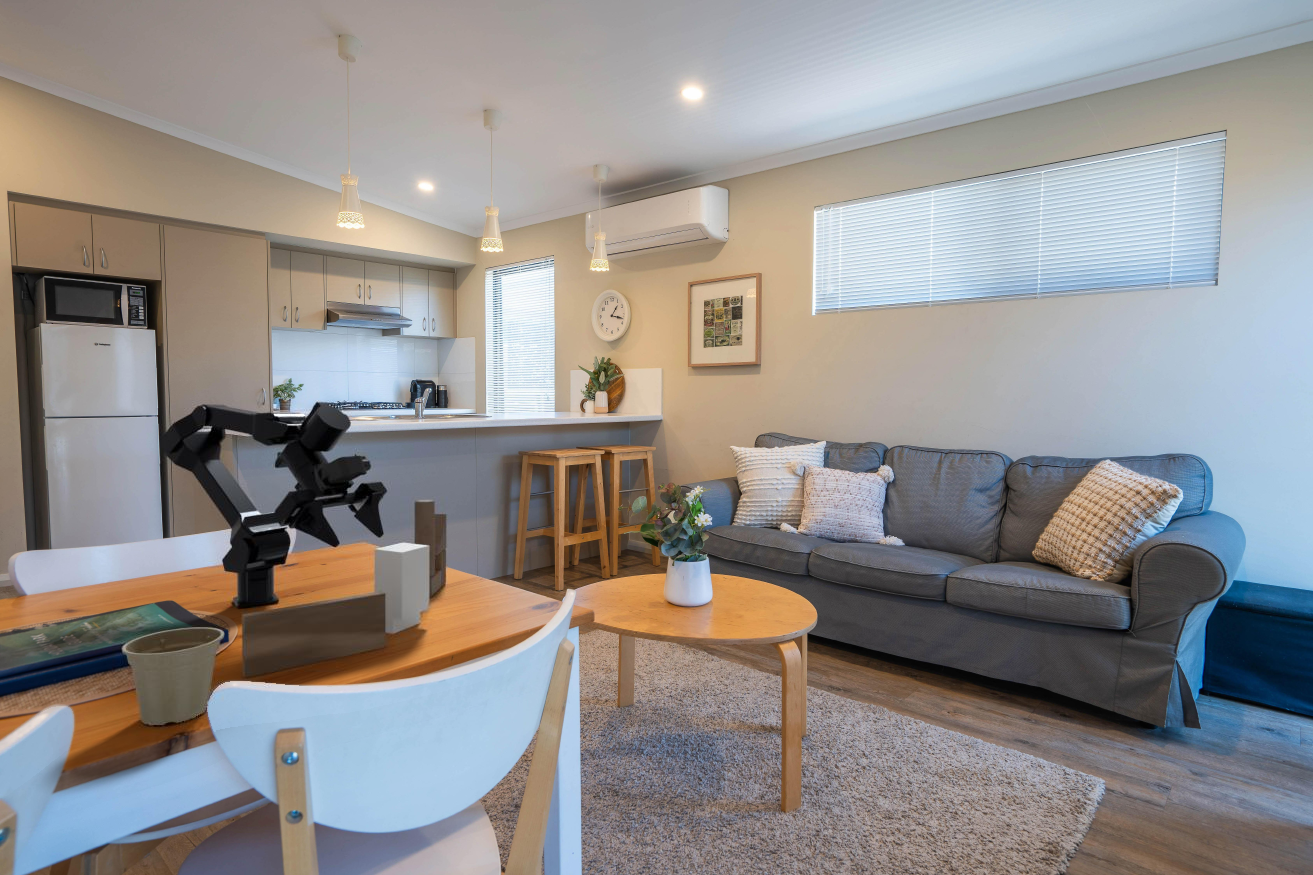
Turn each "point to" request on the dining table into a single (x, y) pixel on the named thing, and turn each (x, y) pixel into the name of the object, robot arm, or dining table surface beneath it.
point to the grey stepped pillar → (432, 541)
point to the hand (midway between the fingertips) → (360, 540)
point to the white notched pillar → (403, 583)
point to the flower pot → (173, 672)
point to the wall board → (312, 632)
